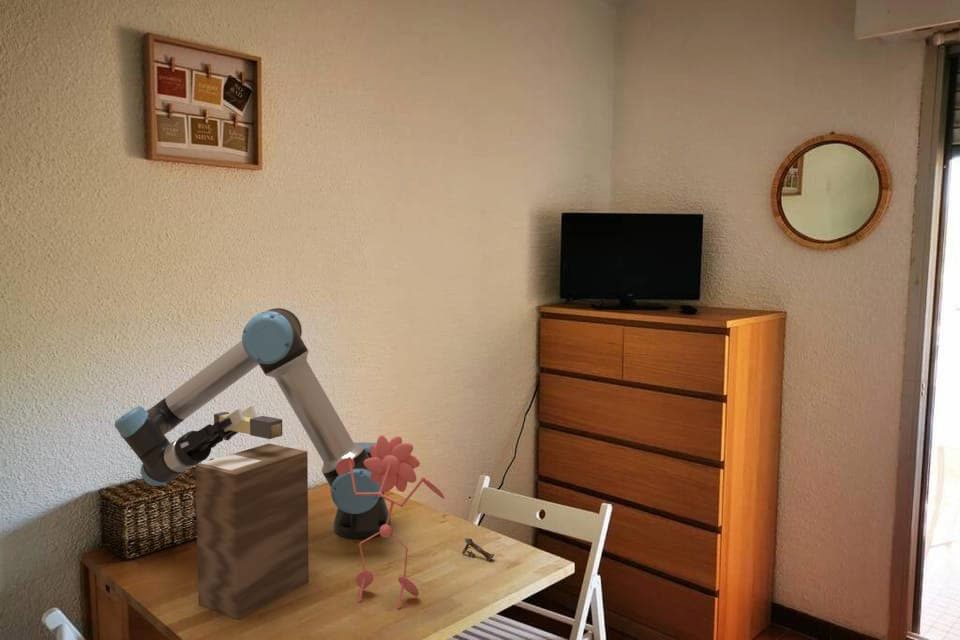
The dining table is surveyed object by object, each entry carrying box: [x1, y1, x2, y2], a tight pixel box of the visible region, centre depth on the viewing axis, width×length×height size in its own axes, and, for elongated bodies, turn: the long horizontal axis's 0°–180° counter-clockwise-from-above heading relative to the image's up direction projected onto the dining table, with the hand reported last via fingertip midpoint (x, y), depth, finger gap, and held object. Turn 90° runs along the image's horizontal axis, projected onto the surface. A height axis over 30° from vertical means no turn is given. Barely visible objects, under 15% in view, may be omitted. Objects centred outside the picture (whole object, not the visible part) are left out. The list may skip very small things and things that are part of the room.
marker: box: [213, 411, 283, 440], centre depth 162 cm, size 18×4×4 cm, turn 59°
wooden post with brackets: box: [461, 537, 495, 562], centre depth 179 cm, size 2×8×4 cm, turn 64°
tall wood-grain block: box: [194, 443, 310, 620], centre depth 158 cm, size 12×20×30 cm, turn 149°
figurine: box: [336, 434, 445, 614], centre depth 160 cm, size 15×26×35 cm, turn 72°
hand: (247, 413), depth 162 cm, fingers closed on marker, 3 cm apart
